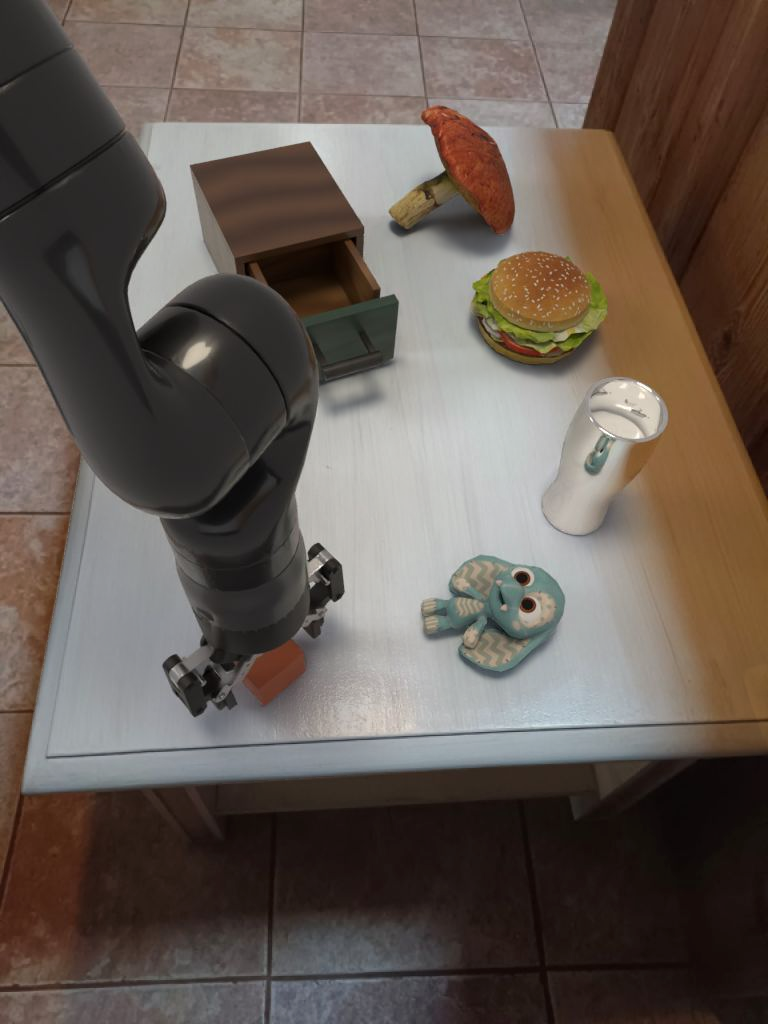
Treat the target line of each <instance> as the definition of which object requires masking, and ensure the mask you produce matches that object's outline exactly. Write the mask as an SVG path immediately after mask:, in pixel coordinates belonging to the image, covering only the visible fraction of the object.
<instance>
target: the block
mask: <svg viewBox="0 0 768 1024" xmlns="http://www.w3.org/2000/svg"><path fill="white" fill-rule="evenodd" d="M235 663H236V664H237V663H238V661H235ZM306 671H307V670H306V662H305V652H304V651H303V650H302V648H301V647H300V646H299V645H298V644H297V643H296V642H295V641H294V640H293V638H291V639H290V640H289V641H288V642H286V643H285V644H283V645H282V646H280V647H278V648H276V649H274V650H272V651H269V652H266V653H263V655H262V656H260V657H258V658H256V660H255V662H254V663H253V665H252V667H251V669H250V670H249V672H248V674H247V675H246V677H245V679H244V680H242V681H241V683H243V685H244V686H245V687H246V688H247V690H249V691H250V692H251V694H252V695H253V696H254V697H255V698H256V700H258V702H259V703H260V704H261V705H262V706H263V707H265V706H267V705H268V704H269V703H270V702H271V701H273V700H274V699H275V698H276V697H277V696H279V694H280V693H282V692H283V691H284V690H285V689H286V688H288V687H289V686H291V684H292V683H293V682H294V681H296V680H297V679H298V678H299V677H300V676H302V675H303V674H304V673H305V672H306Z"/></svg>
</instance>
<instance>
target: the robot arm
mask: <svg viewBox="0 0 768 1024" xmlns="http://www.w3.org/2000/svg"><path fill="white" fill-rule="evenodd" d="M126 129H127V124H126V123H125V121H124V119H123V118H122V117H121V115H120V113H119V112H118V110H117V109H116V108H115V105H114V104H113V103H112V101H111V99H110V98H109V96H108V95H107V93H106V92H105V90H104V89H103V87H102V86H101V84H100V82H99V81H98V79H97V78H96V76H95V75H94V73H93V71H92V70H91V69H90V67H89V65H88V63H87V62H86V61H85V59H84V57H83V56H82V54H81V53H80V52H79V50H78V48H77V47H75V44H74V42H73V41H72V39H71V37H70V36H69V34H68V32H67V31H66V30H65V28H64V27H63V25H62V24H61V22H60V21H59V19H58V18H57V16H56V14H55V13H54V12H53V10H52V8H51V7H50V6H49V4H48V3H47V1H46V0H0V304H1V305H2V307H3V309H4V310H5V312H6V314H7V316H8V317H9V319H10V321H11V322H12V324H13V326H14V327H15V329H16V331H17V333H18V334H19V336H20V338H21V340H22V342H23V343H24V345H25V347H26V348H27V350H28V352H29V354H30V356H31V358H32V359H33V362H34V363H35V366H36V367H37V369H38V371H39V373H40V375H41V377H42V379H43V382H44V383H45V386H46V388H47V390H48V392H49V394H50V396H51V398H52V400H53V403H54V404H55V407H56V409H57V412H58V413H59V415H60V417H61V419H62V422H63V423H64V426H65V427H66V429H67V432H68V433H69V435H70V437H71V439H72V440H73V442H74V444H75V446H76V447H77V449H78V451H79V453H80V454H81V456H82V458H83V459H84V461H85V463H86V464H87V465H88V467H89V468H90V469H91V471H92V472H93V473H94V474H95V476H96V477H97V479H98V480H99V481H101V483H102V484H103V485H104V486H105V487H106V488H107V489H108V490H109V491H110V492H111V493H113V495H115V496H116V497H117V498H119V499H120V500H122V501H123V502H124V503H125V504H127V505H129V506H130V507H133V508H134V509H136V510H139V511H140V512H143V513H145V514H149V515H152V516H155V517H159V521H160V525H161V528H162V530H163V533H164V535H165V537H166V539H167V541H168V544H169V547H170V548H171V550H172V553H173V556H174V559H175V567H176V573H177V576H178V579H179V582H180V585H181V587H182V589H183V591H184V594H185V596H186V598H187V601H188V603H189V605H190V608H191V611H192V613H193V614H194V616H195V619H196V621H197V623H198V627H199V628H200V631H201V632H202V633H201V634H202V635H201V637H200V640H199V648H198V649H197V650H195V651H194V652H192V653H191V654H190V655H188V656H187V657H186V656H183V657H180V656H179V655H178V653H174V654H172V655H170V656H168V657H167V658H166V659H165V660H164V661H163V663H162V664H161V667H162V669H163V672H164V673H165V674H164V675H165V677H166V678H167V681H168V683H169V685H170V688H171V690H172V693H173V695H174V696H176V697H177V698H178V699H179V700H180V701H181V702H182V704H183V705H184V706H185V707H186V709H187V710H188V712H189V714H190V715H191V716H192V717H193V718H198V717H199V716H202V715H203V713H205V711H206V710H207V708H208V703H209V702H211V703H212V704H213V705H214V706H215V708H216V709H217V711H223V710H224V709H225V708H226V707H227V709H228V710H229V711H231V710H233V709H234V708H235V707H237V705H238V702H237V699H236V696H235V694H234V693H233V690H232V688H233V687H234V685H235V684H237V683H239V682H242V680H244V679H245V677H246V675H247V674H248V672H249V670H250V669H251V667H252V665H253V663H254V662H255V660H256V658H258V657H260V656H262V655H263V653H266V652H269V651H272V650H274V649H276V648H278V647H280V646H282V645H283V644H285V643H286V642H288V641H289V640H290V639H293V638H294V636H296V635H297V633H298V632H299V631H300V629H301V628H302V629H303V630H304V631H305V632H306V633H307V634H308V635H309V636H310V638H312V639H313V640H316V639H317V638H318V637H319V636H320V635H322V627H323V626H324V623H325V616H326V614H327V612H328V609H329V608H327V605H328V603H329V602H330V601H332V602H333V603H336V602H339V601H340V600H341V599H342V598H343V596H344V595H345V593H346V589H345V581H344V572H343V571H344V570H343V564H342V563H341V562H339V561H338V559H336V557H334V555H332V554H331V553H330V551H328V550H327V548H325V546H323V545H322V544H321V543H320V542H316V543H314V544H313V545H311V546H310V547H309V548H308V550H307V549H306V544H305V539H304V536H303V533H302V530H301V528H300V523H299V522H300V521H299V520H300V519H299V509H298V501H297V496H296V495H297V494H296V492H297V488H298V483H299V481H300V479H301V476H302V472H303V471H304V468H305V464H306V459H307V455H308V451H309V447H310V442H311V437H312V434H313V430H314V425H315V421H316V416H317V412H318V405H319V398H320V397H319V395H320V380H319V372H318V364H317V359H316V355H315V351H314V348H313V345H312V342H311V340H310V337H309V334H308V332H307V330H306V328H305V326H304V324H303V323H302V321H301V319H300V318H299V316H298V315H297V313H296V312H295V311H294V310H293V308H292V307H291V306H290V305H289V303H288V302H287V301H286V300H285V299H284V298H283V297H282V296H281V295H280V294H279V293H277V292H276V291H275V290H274V289H272V288H271V287H269V286H268V285H266V284H264V283H262V282H260V281H259V280H257V279H254V278H252V277H249V276H245V275H240V274H232V273H220V274H219V273H216V274H212V275H208V276H204V277H202V278H199V279H198V280H196V281H194V282H193V283H190V284H189V285H187V286H186V287H184V288H183V289H182V290H181V291H180V292H178V294H176V295H175V296H174V297H173V298H171V299H170V300H169V301H168V302H167V303H166V304H165V305H163V306H162V307H161V308H160V309H159V310H158V311H157V312H156V313H155V314H154V315H152V316H151V318H149V319H148V320H147V321H146V322H145V323H144V324H143V325H141V326H140V327H139V328H138V329H137V330H136V326H135V323H134V319H133V315H132V309H131V305H130V299H129V298H130V297H129V286H130V283H131V279H132V277H133V273H134V271H135V269H136V267H137V266H138V263H139V261H140V260H141V258H142V257H143V255H144V253H146V250H147V249H148V247H149V246H150V245H151V243H152V241H153V240H154V238H155V237H156V235H157V234H158V232H159V230H160V229H161V227H162V225H163V223H164V221H165V218H166V215H167V207H168V202H167V195H166V192H165V190H164V189H165V188H164V186H163V184H162V182H161V180H160V178H159V176H158V175H157V172H156V170H155V168H154V167H153V165H152V164H151V162H150V160H149V158H148V157H147V155H146V154H145V152H144V150H143V149H142V147H141V146H140V144H139V142H138V141H137V140H136V138H135V137H134V135H133V133H132V132H131V131H130V130H126ZM307 558H308V559H307ZM312 582H313V583H314V584H313V585H312V586H311V583H312ZM235 661H238V663H237V664H236V663H235Z"/></svg>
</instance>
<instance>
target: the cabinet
mask: <svg viewBox="0 0 768 1024" xmlns="http://www.w3.org/2000/svg"><path fill="white" fill-rule="evenodd" d="M189 169H190V175H191V181H192V186H193V191H194V196H195V201H196V207H197V213H198V219H199V224H200V229H201V234H202V239H203V243H204V244H205V245H204V246H205V247H206V249H207V251H208V253H209V256H210V258H211V260H212V262H213V265H214V267H215V269H216V271H217V274H220V273H232V274H240V275H245V276H246V274H245V266H244V263H246V262H251V261H255V260H259V259H263V258H267V257H272V256H276V255H280V254H284V253H288V252H293V251H297V250H301V249H305V248H310V247H314V246H318V245H322V244H326V243H331V242H335V241H339V240H343V239H347V238H350V239H351V240H352V242H353V244H354V245H355V247H356V249H357V250H358V252H359V253H360V255H361V257H362V258H363V259H364V247H365V246H364V245H365V244H364V243H365V225H364V224H363V223H362V221H361V219H360V218H359V216H358V214H357V213H356V212H355V210H354V208H353V207H352V205H351V203H349V201H348V199H347V198H346V196H345V194H344V193H343V191H342V189H341V188H340V186H339V185H338V183H337V181H336V180H335V178H334V176H333V175H332V174H331V172H330V170H329V169H328V167H327V165H326V164H325V163H324V161H323V159H322V158H321V156H320V155H319V153H318V152H317V150H316V148H315V147H314V144H312V142H311V141H310V140H308V141H304V142H299V143H294V144H289V145H284V146H279V147H274V148H269V149H264V150H263V149H262V150H259V151H252V152H248V153H243V154H238V155H233V156H228V157H223V158H218V159H213V160H208V161H203V162H198V163H193V164H189Z"/></svg>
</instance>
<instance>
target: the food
mask: <svg viewBox="0 0 768 1024" xmlns="http://www.w3.org/2000/svg"><path fill="white" fill-rule="evenodd" d="M471 285H472V290H473V291H475V292H474V295H473V299H472V300H471V302H470V311H471V313H472V314H473V315H474V316H476V317H477V321H478V329H479V331H480V333H481V335H482V336H483V338H484V340H485V343H487V344H488V345H489V346H490V347H491V348H492V349H493V350H494V351H495V352H496V353H498V354H499V355H502V356H505V358H509V359H510V360H512V361H516V362H519V363H524V364H527V365H540V364H553V363H555V362H557V361H559V360H561V359H563V358H565V357H567V356H570V355H571V354H572V353H573V352H574V351H575V350H576V349H577V347H579V346H580V345H581V344H582V343H583V341H584V340H585V339H586V338H588V336H589V335H591V334H592V333H593V332H594V330H597V329H598V327H599V326H600V324H601V323H602V322H603V321H604V320H605V319H606V317H607V315H608V312H609V311H608V309H609V304H608V298H607V296H606V295H605V292H604V291H603V289H602V286H601V283H600V282H599V281H597V279H596V278H595V277H594V275H593V274H592V273H591V272H589V271H587V272H586V274H585V273H584V272H583V271H582V270H581V269H580V268H579V267H578V265H576V264H574V263H573V261H572V260H571V258H570V256H566V257H563V256H561V255H558V254H556V253H555V254H554V253H550V252H545V251H541V250H540V251H537V250H536V251H534V250H533V251H532V250H531V251H525V252H521V253H518V254H517V253H516V254H513V255H511V256H509V257H506V258H504V259H500V260H499V262H498V263H497V265H496V268H493V269H491V270H490V271H488V272H487V273H485V274H484V275H483V276H482V277H480V279H479V280H476V281H474V282H472V284H471Z"/></svg>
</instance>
